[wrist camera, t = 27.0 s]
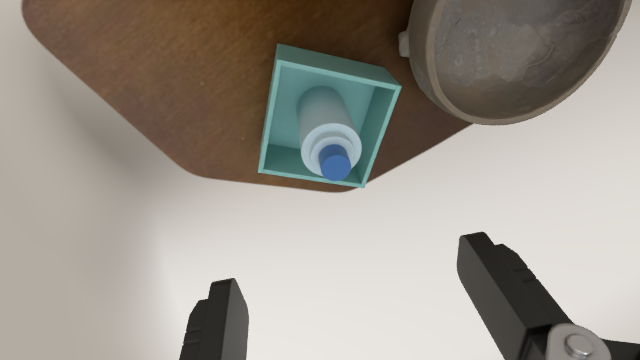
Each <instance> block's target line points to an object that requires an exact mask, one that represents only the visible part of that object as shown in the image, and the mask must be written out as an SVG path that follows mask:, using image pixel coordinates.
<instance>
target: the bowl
mask: <svg viewBox="0 0 640 360" xmlns="http://www.w3.org/2000/svg"><path fill="white" fill-rule="evenodd" d="M631 2H632V0H414V2H413V6H412V8H411V13H410V17H409V24H408V27H407V30H406V31H404V32H400V33H399V35H398V41H399V53H400V56H402V57H408V58H410V59H409V62H410V66H411V70H412V72H413V75H414V78H415V80H416V82H417V84H418V87H419V88H420V89H421V90H422V91H423V92H424V93H425V94H426V95H427V97H428V98H429V99H430V100H432V101H433V102H434V103H435V104H436V105H437V106H438V107H440V108H441V109H442V110H444V111H445V112H447V113H449V114H451V115H453V116H455V117H457V118H459V119H462V120H464V121H467V122H470V123H476V124H481V125H508V124H514V123H518V122H522V121H525V120H528V119H531V118H534V117H536V116H538V115H540V114H543V113H545V112H546V111H548V110H550V109H552V108H553V107H555V106H556V105H558V104H559V103H561V102H562V101H563V100H565V99H566V98H567V97H568V96H570V95H571V94H572V93H573V92H575V91H576V90H577V89H578V88H579V87H580V86H581V85H582V84H583V83H584V82H585V81H586V80H587V79H588V78H589V77H590V76H591V75H592V73H593V72H594V71H595V70H596V69H597V67H598V66H599V65H600V64H601V62H602V61H603V59H604V58H605V56H606V55H607V53H608V52H609V50H610V48H611V46H612V44H613V42H614V41H615V38H616V37H617V33H618V32H619V31H620V29H621V27H622V25H623V23H624V21H625V18H626V16H627V14H628V12H629V9H630V6H631Z"/></svg>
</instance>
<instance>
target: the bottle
mask: <svg viewBox="0 0 640 360" xmlns="http://www.w3.org/2000/svg"><path fill="white" fill-rule="evenodd" d="M296 111H297V121H298V130H299V139H300V149H301V157H302V160H303V162H304V164H305V166H306V167H307V168H308V169H309V170H310V171H312V172H313V173H315V174H317V175H320V176H324V177H325V178H326V179H328V180H330V181H339V180H342V179H344V178H345V177H347V176H348V174H349V173H350V171H351V169H352V168H353V167H354V166H355V165H356V163H357V162H358V160H359V158H360V155H361V151H362V145H361V140H360V138H359V135H358V133H357V131H356V128H355V126H354V124H353V122H352V119H351V117H350V115H349V112H348V110H347V108H346V105H345V103H344V101H343V98H342V97H341V95H340V94H339V93H338V92H337V91H336V90H334V89H332V88H330V87H325V86H318V87H314V88H311V89H309V90H307V91H306V92H305V93H304V94H303V95H302V96H301V97H300V99H299V101H298V104H297V110H296Z"/></svg>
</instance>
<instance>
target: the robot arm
mask: <svg viewBox="0 0 640 360" xmlns="http://www.w3.org/2000/svg"><path fill="white" fill-rule="evenodd" d="M457 271H458V275H459V278H460V280H461V283H462V284H463V286H464V288H465V290H466V291H467V293H468V295H469V297H470V299H471V300H472V302H473V304H474V306H475V307H476V309H477V311H478V313H479V315H480V316H481V318H482V320H483V322H484V323H485V325H486V327H487V329H488V331H489V332H490V334H491V336H492V338H493V339H494V341H495V343H496V345H497V347H498V348H499V350H500V352H501V354H502V355H503V357H504V359H505V360H640V344H636V343H627V342H619V341H611V340H605V339H601V338H599V337H598V336H597V335H595V334H594V333H593V332H591V331H590V330H588V329H586V328H584V327H581V326H579V325H575V324H574V323H573V322H572V321H571V320H570V319H569V318H568V316H567V315H566V314H565V313H564V312H563V311H562V309H561V308H560V306H559V305H558V304H557V303H556V301H555V300H554V299H553V298H552V296H551V295H550V294H549V293H548V291H547V290H546V289H545V288H544V286H543V285H542V284H541V283H540V282H539V280H538V279H536V276H535V275H534V274H533V273H532V271H531V270H530V269H528V268H527V265H526V264H525V263H524V262H523V260H522V259H521V258H520V257H519V255H518V254H517V253H516V252H514V251H513V250H511V249H510V248H508V247H507V246H505V245H504V244H499V245H494V244H493V242H492V241H491V240H490V238H489V237H488V236H487V234H486V233H484V232H478V233H473V234H467V235H462V236H461V237H460V239H459V248H458V257H457ZM248 325H249V315H248V308H247V304H246V302H245V300H244V298H243V295H242V293H241V291H240V288H239V286H238V284H237V282H236V280H235V279H234V278H231V279H226V280H221V281H216V282H212V284H211V287H210V291H209V296H208V299H205V300H199V301H198V303H197V304H196V306H195V307H194V309H193V311H192V312H191V314H190V316H189V320H188V324H187V329H186V333H185V337H184V342H183V343H184V345H183V346H182V350H181V354H180V359H179V360H246V353H247V339H248Z"/></svg>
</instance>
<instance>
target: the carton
mask: <svg viewBox="0 0 640 360" xmlns="http://www.w3.org/2000/svg"><path fill="white" fill-rule="evenodd" d="M318 86H325V87H330V88H332V89H334V90H336V91H337V92H338V93H339V94H340V95H341V97H342V98H343V101H344V103H345V105H346V108H347V110H348V112H349V115H350V117H351V119H352V122H353V124H354V126H355V128H356V131H357V133H358V135H359V138H360V140H361V145H362V151H361V155H360V158H359V160H358V162H357V163H356V165H355V166H354V167H353V168H352V169H351V171H350V173H349V174H348V176H347V177H345V178H344V179H342V180H339V181H330V180H328V179H326V178H325V177H324V176H320V175H317V174H315V173H313V172H312V171H310V170H309V169H308V168H307V167H306V166H305V164H304V162H303V160H302V157H301V149H300V139H299V130H298V121H297V111H296V110H297V104H298V101H299V99H300V97H301V96H302V95H303V94H304V93H305V92H306V91H307V90H309V89H311V88H314V87H318ZM400 89H401V85H400V84H399V83H398V82H397V81H396V80H395V79H394V77H393V76H392V75H391V74H390V73H389V72H388V71H387V70H386V69H385V68H384V67H380V66H376V65H372V64H367V63H363V62H358V61H354V60H350V59H345V58H341V57H336V56H332V55H328V54H323V53H319V52H314V51H310V50H306V49H301V48H297V47H292V46H288V45H284V44H279V43H277V48H276V54H275V60H274V66H273V73H272V79H271V85H270V91H269V97H268V103H267V109H266V115H265V121H264V127H263V133H262V139H261V146H260V156H259V166H258V173H265V174H272V175H279V176H285V177H292V178H299V179H306V180H313V181H319V182H326V183H333V184H340V185H346V186H353V187H360V188H364V187H365V184H366V182H367V179H368V176H369V173H370V171H371V168H372V165H373V163H374V160H375V157H376V154H377V152H378V149H379V146H380V144H381V141H382V138H383V136H384V133H385V130H386V127H387V125H388V122H389V119H390V117H391V114H392V111H393V108H394V106H395V103H396V100H397V98H398V95H399V92H400Z"/></svg>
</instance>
